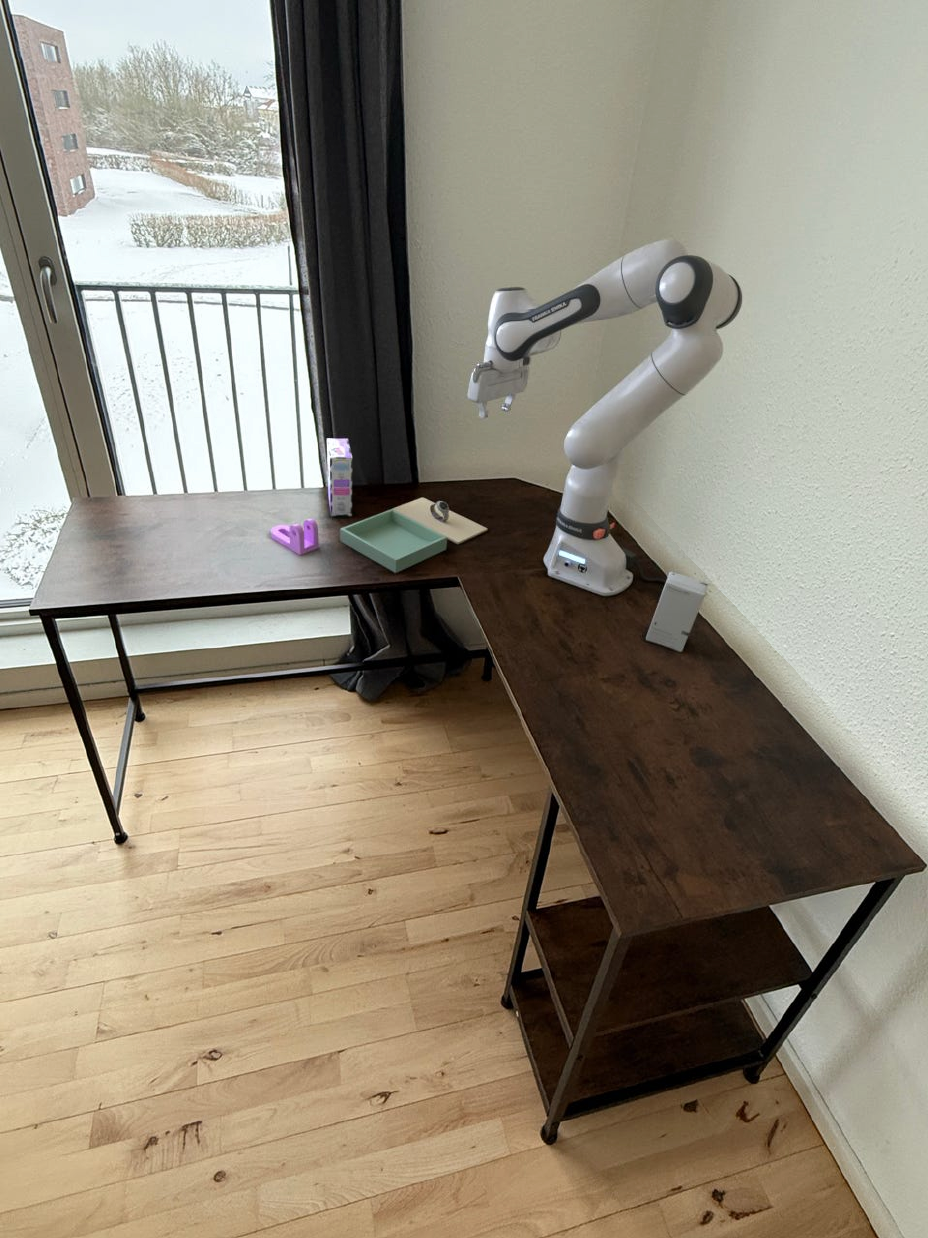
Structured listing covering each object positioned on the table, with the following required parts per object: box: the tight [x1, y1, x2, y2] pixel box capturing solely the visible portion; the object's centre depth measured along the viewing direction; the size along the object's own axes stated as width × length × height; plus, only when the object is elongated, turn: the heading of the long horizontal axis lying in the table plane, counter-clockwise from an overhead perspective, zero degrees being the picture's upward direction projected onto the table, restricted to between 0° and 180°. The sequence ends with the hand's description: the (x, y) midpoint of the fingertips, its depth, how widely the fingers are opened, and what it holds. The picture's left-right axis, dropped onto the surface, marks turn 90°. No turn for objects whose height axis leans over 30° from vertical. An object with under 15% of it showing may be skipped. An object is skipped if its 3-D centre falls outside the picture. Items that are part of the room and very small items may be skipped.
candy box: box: [326, 437, 353, 517], centre depth 177 cm, size 14×6×16 cm, turn 12°
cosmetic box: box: [645, 571, 709, 653], centre depth 140 cm, size 8×6×15 cm
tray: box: [339, 508, 448, 574], centre depth 165 cm, size 20×18×4 cm
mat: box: [392, 497, 489, 545], centre depth 180 cm, size 24×12×1 cm, turn 49°
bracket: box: [270, 518, 320, 556], centre depth 161 cm, size 13×6×7 cm, turn 50°
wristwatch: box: [430, 500, 450, 522], centre depth 178 cm, size 4×6×5 cm, turn 43°
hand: (494, 413), depth 173 cm, fingers open, 8 cm apart
